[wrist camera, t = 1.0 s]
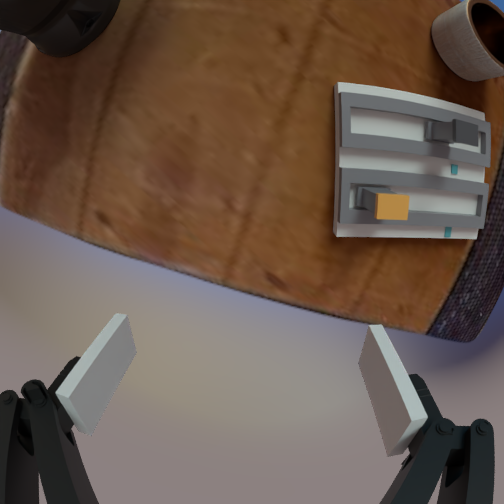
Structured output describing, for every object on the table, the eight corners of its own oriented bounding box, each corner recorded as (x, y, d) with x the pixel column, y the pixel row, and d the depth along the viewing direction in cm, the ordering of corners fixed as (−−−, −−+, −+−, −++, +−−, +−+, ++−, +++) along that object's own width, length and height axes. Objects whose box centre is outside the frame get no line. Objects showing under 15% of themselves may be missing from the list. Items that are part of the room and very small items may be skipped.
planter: (422, 7, 23) (455, -17, 14) (477, 28, 22) (513, 13, 13) (435, 72, 26) (477, 59, 17) (489, 89, 26) (531, 84, 17)
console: (334, 85, 29) (340, 79, 26) (476, 113, 27) (489, 112, 24) (332, 231, 35) (338, 239, 32) (469, 234, 34) (481, 241, 31)
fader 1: (356, 184, 31) (375, 193, 25) (388, 186, 30) (412, 196, 24) (355, 205, 31) (373, 219, 25) (386, 206, 31) (409, 220, 25)
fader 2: (425, 120, 27) (453, 118, 21) (450, 126, 27) (480, 125, 21) (425, 140, 28) (454, 141, 22) (450, 144, 28) (480, 147, 22)
